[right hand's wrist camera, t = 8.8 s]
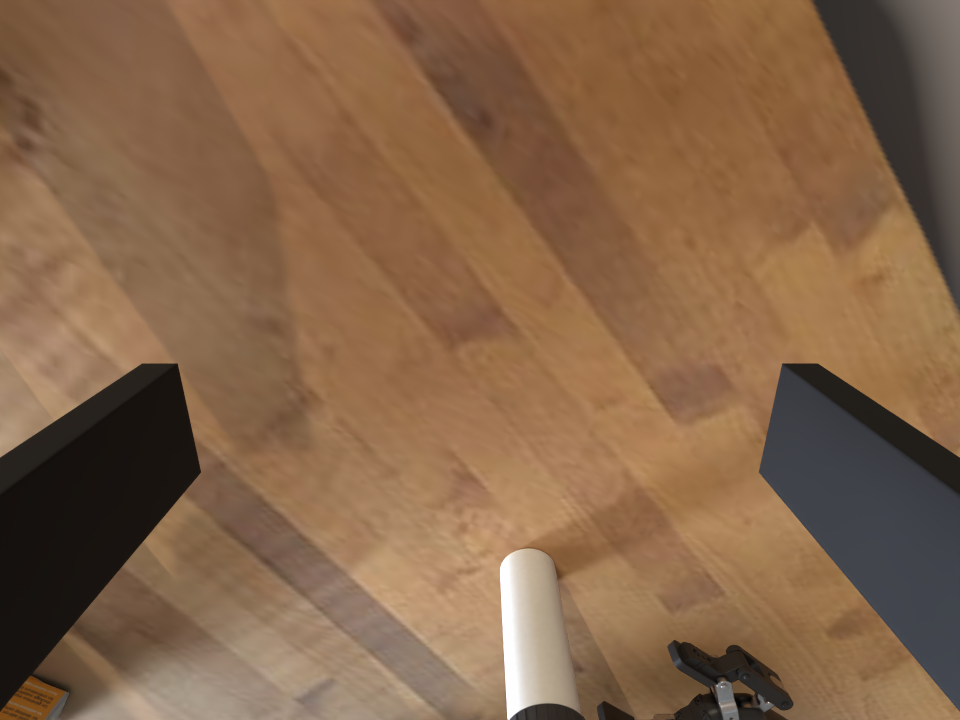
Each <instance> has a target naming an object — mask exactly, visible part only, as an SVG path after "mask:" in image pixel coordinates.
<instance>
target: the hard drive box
mask: <svg viewBox="0 0 960 720" xmlns="http://www.w3.org/2000/svg"><path fill="white" fill-rule="evenodd" d="M68 696H69V693H68V692H66V691H63V690H61V689H58V688H56V687H53V686H50V685H48V684H45V683H43V682H41V681H40V680H39V679H37V678H35V677H32V676H30V677H29V678H28V679H27V680H26V681H25V683H24V684H23V685H22V686H21V687H20V689H19V690H18V691H17V692H16V693H15V695H14V696H13V697H12V698H11V699H10V700H9V702H8V703H7V704H6V705H5V706H4V708H3V709H2V710H1V711H0V720H58V718H59V716H60V714H61V712H62V710H63V707H64V705H65V703H66V700H67V698H68Z"/></svg>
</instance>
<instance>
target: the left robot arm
mask: <svg viewBox="0 0 960 720" xmlns="http://www.w3.org/2000/svg"><path fill="white" fill-rule="evenodd" d="M668 650H669V653H670V655H671V658H672V661H673V663H674V665H675V666H676V667H677V668H678V669H679V670H680V671H682V672H684V673H685V674H687V675H689V676H690V677H692V678H694V679H695V680H697V681H699V682H700V683H702V684H704V685H705V686H707V687H708V689H709V693H708V694H704V695H701V694H699V695H697V696H696V697H695V698H694V699H693V700H692V701H691V703H690V704H689V705H688V706H686V707H684V708H682V709H680V710H679V711H677V712H676V713H675V714H656V715H655V716H654V718H653V719H652V720H787V719H786V718H784V717H783V716H781V715H779V714H778V713H776V712H774V711H773V710H771V708H772V707H774V706H776V707H777V708H779V709H780V710H788V709H790V708H792V706H793V701H792V700H791V698H790V696H789V694H788V692H787V691H786V689H785V687H784V685H783V683H782V682H781V680H780V678H779V677H778V675H777V674H776V673H775V672H773V671H772V670H771V669H769V668H768V667H767V666H765V665H764V664H763V663H761V662H760V661H758V660H757V659H756V658H754V657H753V656H752V655H750V654H749V653H748V652H746V651H745V650H743V649H742V648H741V647H739V646H738V645H732V646H729V647H728V648H727V649H726V655H724V656H721V657H718V656H717V655H708V654H706V653H705V652H703V651H702V650H700V649H698V648H697V647H695V646H693V645H692V644H690V643H686V642H683V643H682V644H681V643H679V642H677V641H676V640H674V641H673V642H672V643H670V644H669V645H668ZM737 680H740V681H741V682H742V683H744V684H745V685H746V686H748V687H749V688H751V689H752V690H754V692H755V695H754V696H753V695H751V694H747V693H733V689H732V684H731V683H732V682H734V681H737ZM597 711H598V716H599V720H634V717H632V716H630V715H629V714H627V713H625V712H623V711H621V710H620V709H618V708H616V707H614V706H612V705H611V704H609V703H607V702H605V701H603V702H602V703H601V704H600V705H598V706H597Z"/></svg>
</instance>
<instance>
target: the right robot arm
mask: <svg viewBox="0 0 960 720" xmlns="http://www.w3.org/2000/svg"><path fill="white" fill-rule="evenodd" d="M200 473H201V470H200V465H199V461H198V456H197V451H196V447H195V442H194V437H193V433H192V428H191V423H190V419H189V414H188V409H187V405H186V400H185V395H184V391H183V386H182V382H181V377H180V372H179V368H178V364H141V365H139V366H138V367H136V368H135V369H133V370H132V371H130V372H129V373H127V374H126V375H124V376H123V377H121V378H120V379H118V380H117V381H115V382H114V383H112V384H111V385H109V386H108V387H106V388H105V389H103V390H102V391H100V392H99V393H97V394H96V395H94V396H93V397H91V398H90V399H88V400H87V401H85V402H84V403H82V404H81V405H79V406H78V407H76V408H75V409H73V410H72V411H70V412H69V413H67V414H65V415H64V416H62V417H61V418H59V419H58V420H56V421H55V422H53V423H52V424H50V425H49V426H47V427H46V428H44V429H43V430H41V431H40V432H38V433H37V434H35V435H34V436H32V437H31V438H29V439H28V440H26V441H25V442H23V443H22V444H20V445H19V446H17V447H16V448H14V449H13V450H11V451H10V452H8V453H7V454H5V455H4V456H2V457H1V458H0V711H1V710H2V709H3V708H4V706H5V705H6V704H7V703H8V702H9V700H10V699H11V698H12V697H13V696H14V695H15V693H16V692H17V691H18V690H19V689H20V687H21V686H22V685H23V684H24V683H25V681H26V680H27V679H28V678H29V677H30V675H31V674H32V673H33V672H34V671H35V670H36V668H37V667H38V666H39V665H40V664H41V662H42V661H43V660H44V659H45V658H46V656H47V655H48V654H49V653H50V652H51V650H52V649H53V648H54V647H55V646H56V644H57V643H58V642H59V641H60V640H61V639H62V637H63V636H64V635H65V634H66V633H67V631H68V630H69V629H70V628H71V627H72V625H73V624H74V623H75V622H76V621H77V619H78V618H79V617H80V616H81V615H82V614H83V612H84V611H85V610H86V609H87V608H88V606H89V605H90V604H91V603H92V602H93V600H94V599H95V598H96V597H97V596H98V594H99V593H100V592H101V591H102V590H103V589H104V587H105V586H106V585H107V584H108V583H109V581H110V580H111V579H112V578H113V577H114V575H115V574H116V573H117V572H118V571H119V569H120V568H121V567H122V566H123V565H124V563H125V562H126V561H127V560H128V559H129V558H130V556H131V555H132V554H133V553H134V552H135V550H136V549H137V548H138V547H139V546H140V544H141V543H142V542H143V541H144V540H145V538H146V537H147V536H148V535H149V534H150V533H151V531H152V530H153V529H154V528H155V527H156V525H157V524H158V523H159V522H160V521H161V519H162V518H163V517H164V516H165V515H166V513H167V512H168V511H169V510H170V509H171V507H172V506H173V505H174V504H175V503H176V502H177V500H178V499H179V498H180V497H181V496H182V494H183V493H184V492H185V491H186V490H187V488H188V487H189V486H190V485H191V484H192V482H193V481H194V480H195V479H196V478H197V477H198V475H199V474H200ZM759 473H760V474H761V475H762V477H763V478H764V479H765V480H766V481H767V482H768V484H769V485H770V486H771V487H772V488H773V490H774V491H775V492H776V493H777V494H778V496H779V497H780V498H781V499H782V500H783V502H784V503H785V504H786V505H787V506H788V507H789V509H790V510H791V511H792V512H793V513H794V515H795V516H796V517H797V518H798V519H799V521H800V522H801V523H802V524H803V525H804V527H805V528H806V529H807V530H808V531H809V533H810V534H811V535H812V536H813V537H814V538H815V540H816V541H817V542H818V543H819V544H820V546H821V547H822V548H823V549H824V550H825V552H826V553H827V554H828V555H829V556H830V558H831V559H832V560H833V561H834V562H835V563H836V565H837V566H838V567H839V568H840V569H841V571H842V572H843V573H844V574H845V575H846V577H847V578H848V579H849V580H850V581H851V583H852V584H853V585H854V586H855V587H856V589H857V590H858V591H859V592H860V593H861V594H862V596H863V597H864V598H865V599H866V600H867V602H868V603H869V604H870V605H871V606H872V608H873V609H874V610H875V611H876V612H877V614H878V615H879V616H880V617H881V618H882V619H883V621H884V622H885V623H886V624H887V625H888V627H889V628H890V629H891V630H892V631H893V633H894V634H895V635H896V636H897V637H898V639H899V640H900V641H901V642H902V643H903V644H904V646H905V647H906V648H907V649H908V650H909V652H910V653H911V654H912V655H913V656H914V658H915V659H916V660H917V661H918V662H919V664H920V665H921V666H922V667H923V668H924V670H925V671H926V672H927V673H928V674H929V675H930V677H931V678H932V679H933V680H934V681H935V683H936V684H937V685H938V686H939V687H940V689H941V690H942V691H943V692H944V693H945V695H946V696H947V697H948V698H949V699H950V700H951V702H952V703H953V704H954V705H955V706H956V708H957V709H958V710H959V711H960V458H959V457H958V456H956V455H955V454H953V453H952V452H950V451H949V450H947V449H946V448H944V447H943V446H941V445H940V444H938V443H937V442H935V441H934V440H932V439H931V438H929V437H928V436H926V435H925V434H923V433H922V432H920V431H919V430H917V429H916V428H914V427H913V426H911V425H910V424H908V423H907V422H905V421H904V420H902V419H901V418H899V417H898V416H896V415H895V414H893V413H891V412H890V411H888V410H887V409H885V408H884V407H882V406H881V405H879V404H878V403H876V402H875V401H873V400H872V399H870V398H869V397H867V396H866V395H864V394H863V393H861V392H860V391H858V390H857V389H855V388H854V387H852V386H851V385H849V384H848V383H846V382H845V381H843V380H842V379H840V378H839V377H837V376H836V375H834V374H833V373H831V372H830V371H828V370H827V369H825V368H824V367H822V366H821V365H819V364H782V368H781V372H780V377H779V382H778V386H777V391H776V395H775V400H774V405H773V409H772V414H771V419H770V423H769V428H768V433H767V437H766V442H765V447H764V451H763V456H762V461H761V465H760V470H759Z"/></svg>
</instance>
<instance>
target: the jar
mask: <svg viewBox="0 0 960 720" xmlns="http://www.w3.org/2000/svg"><path fill="white" fill-rule="evenodd" d="M500 579H501V598H502V618H503V638H504V658H505V677H506V697H507V717H508V720H509V719H510V718H511V717H512V716H513V715H514V714H516V713H517V712H519V711H520V710H522V709H524V708H526V707H529V706H532V705H536V704H544V703H553V704H560V705H564V706H567V707H570V708H572V709H574V710H576V711H577V712H578V713H580V714H581V708H580V703H579V697H578V691H577V686H576V680H575V675H574V669H573V664H572V658H571V652H570V647H569V641H568V636H567V630H566V625H565V619H564V614H563V608H562V602H561V597H560V591H559V586H558V580H557V575H556V569H555V564H554V562H553V560H552V559H551V558H550V556H548V555H547V554H546V553H544V552H542V551H540V550H537V549H530V548H527V549H520V550H517V551H515V552H513V553H511V554H509V555H508V556H507V557H506V558H505V559H504V561H503V562H502V565H501V568H500ZM581 715H582V714H581Z"/></svg>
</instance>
